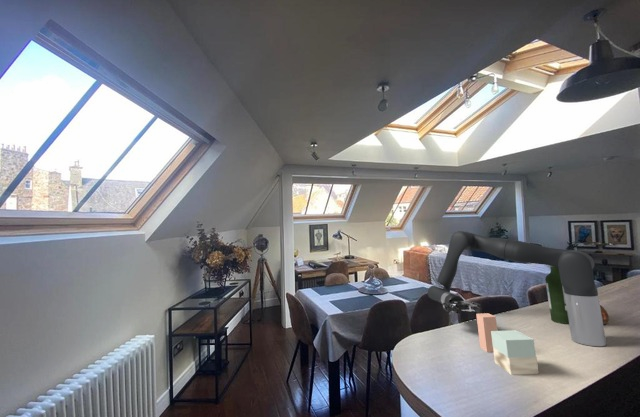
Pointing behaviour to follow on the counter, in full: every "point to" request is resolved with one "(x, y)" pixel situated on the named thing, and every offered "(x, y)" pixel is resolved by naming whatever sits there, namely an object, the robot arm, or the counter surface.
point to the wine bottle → (556, 297)
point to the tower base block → (516, 364)
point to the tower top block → (513, 344)
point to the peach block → (486, 330)
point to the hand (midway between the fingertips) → (469, 311)
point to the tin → (604, 315)
